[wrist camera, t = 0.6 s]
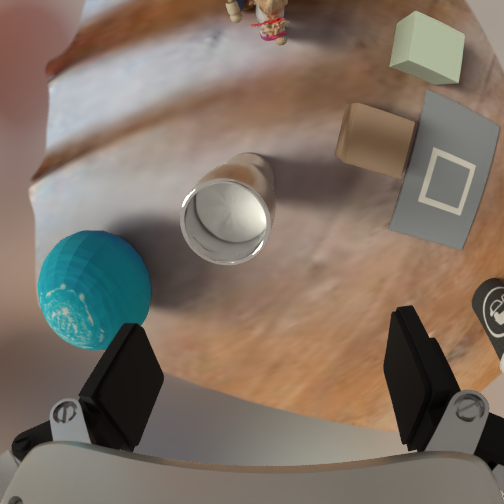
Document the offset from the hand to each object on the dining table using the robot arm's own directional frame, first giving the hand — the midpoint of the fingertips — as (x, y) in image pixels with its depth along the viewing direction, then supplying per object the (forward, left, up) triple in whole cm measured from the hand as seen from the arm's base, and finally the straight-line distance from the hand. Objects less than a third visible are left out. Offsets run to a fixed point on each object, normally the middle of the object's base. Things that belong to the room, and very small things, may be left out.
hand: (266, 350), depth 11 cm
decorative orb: (+15, -20, -27) cm, 37 cm away
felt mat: (-7, +20, -27) cm, 34 cm away
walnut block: (-8, +8, -27) cm, 29 cm away
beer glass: (0, -4, -27) cm, 27 cm away
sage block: (-20, +12, -27) cm, 36 cm away
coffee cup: (+8, +36, -27) cm, 46 cm away
